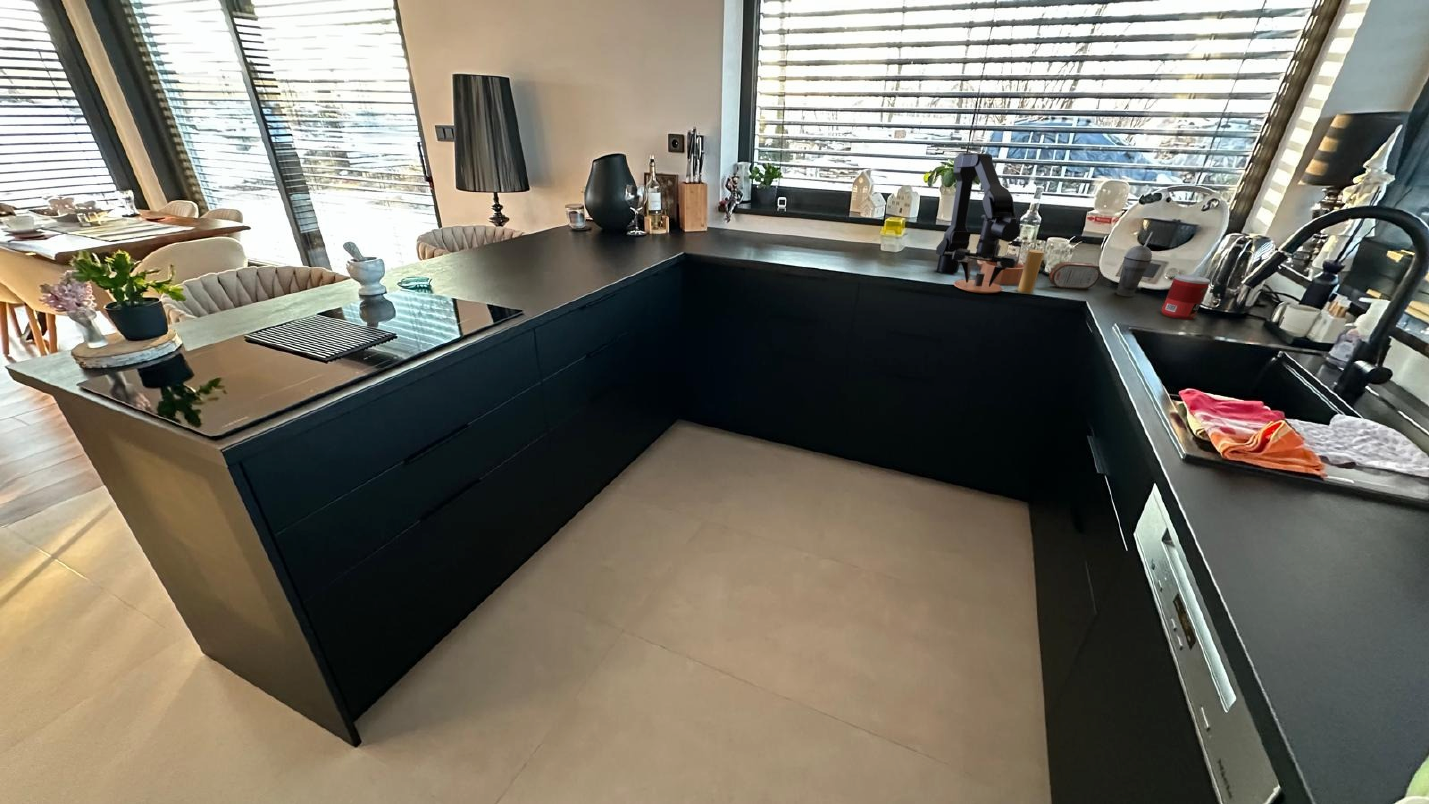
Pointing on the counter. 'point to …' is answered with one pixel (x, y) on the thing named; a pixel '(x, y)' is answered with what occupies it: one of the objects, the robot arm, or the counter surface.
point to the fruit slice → (980, 262)
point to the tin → (1074, 275)
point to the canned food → (1185, 296)
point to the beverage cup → (1134, 269)
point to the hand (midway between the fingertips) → (978, 284)
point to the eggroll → (1030, 271)
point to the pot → (1003, 273)
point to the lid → (978, 285)
